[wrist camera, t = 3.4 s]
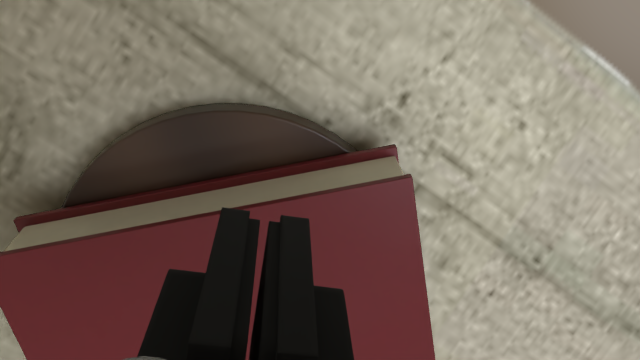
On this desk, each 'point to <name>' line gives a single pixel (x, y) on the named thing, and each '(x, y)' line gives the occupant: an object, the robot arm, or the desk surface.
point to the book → (195, 247)
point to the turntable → (202, 150)
